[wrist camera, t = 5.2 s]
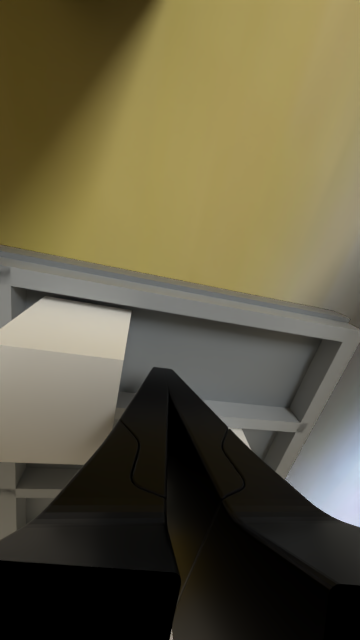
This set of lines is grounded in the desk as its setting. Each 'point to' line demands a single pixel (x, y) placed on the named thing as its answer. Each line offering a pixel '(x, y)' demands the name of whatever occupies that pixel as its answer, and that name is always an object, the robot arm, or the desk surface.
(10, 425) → the cream squarish block
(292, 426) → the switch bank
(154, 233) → the desk surface
